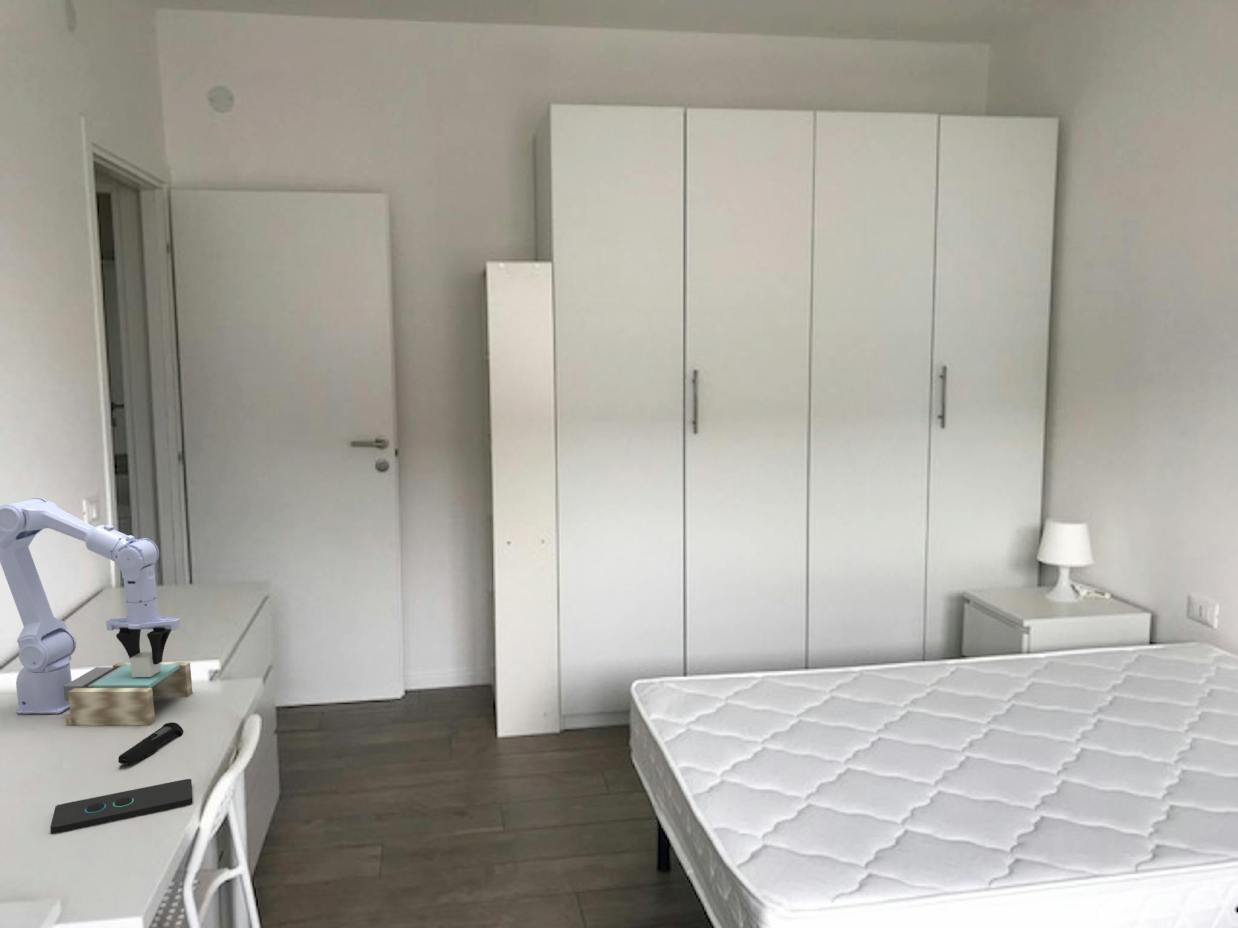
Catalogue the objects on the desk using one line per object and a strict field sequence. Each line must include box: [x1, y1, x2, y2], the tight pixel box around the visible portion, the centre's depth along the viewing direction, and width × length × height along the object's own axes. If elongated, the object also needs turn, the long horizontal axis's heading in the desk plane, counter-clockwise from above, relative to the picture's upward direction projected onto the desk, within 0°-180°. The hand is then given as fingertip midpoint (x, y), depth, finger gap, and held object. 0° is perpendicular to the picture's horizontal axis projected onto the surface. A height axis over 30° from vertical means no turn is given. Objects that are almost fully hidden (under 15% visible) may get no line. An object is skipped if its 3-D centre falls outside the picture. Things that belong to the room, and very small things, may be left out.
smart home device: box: [50, 778, 194, 835], centre depth 149 cm, size 8×2×20 cm
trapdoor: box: [63, 664, 180, 700], centre depth 190 cm, size 18×12×4 cm, turn 88°
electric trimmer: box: [117, 721, 184, 765], centre depth 170 cm, size 4×16×3 cm, turn 171°
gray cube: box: [129, 651, 161, 677], centre depth 189 cm, size 4×4×4 cm
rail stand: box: [65, 661, 193, 726], centre depth 190 cm, size 17×17×7 cm
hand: (146, 662), depth 189 cm, fingers open, 4 cm apart
